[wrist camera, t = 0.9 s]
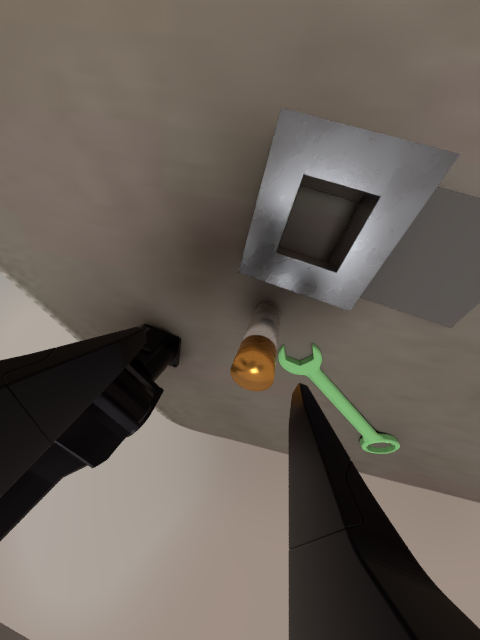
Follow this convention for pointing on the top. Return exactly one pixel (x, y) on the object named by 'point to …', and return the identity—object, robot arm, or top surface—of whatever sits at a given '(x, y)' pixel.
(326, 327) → the top surface
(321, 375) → the wrench
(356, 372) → the top surface
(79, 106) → the top surface
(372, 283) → the rubber mat
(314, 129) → the block
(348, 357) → the top surface
